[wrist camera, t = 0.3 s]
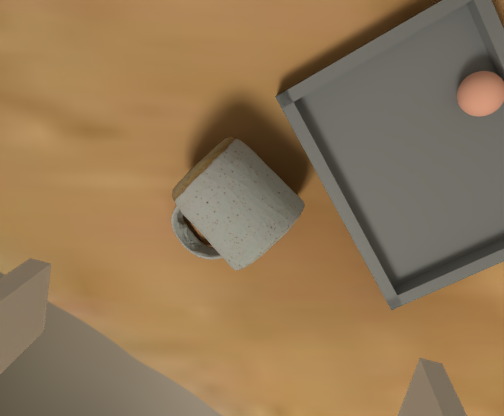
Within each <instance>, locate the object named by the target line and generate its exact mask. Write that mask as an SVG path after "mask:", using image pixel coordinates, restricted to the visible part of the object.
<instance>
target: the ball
mask: <svg viewBox="0 0 504 416" xmlns="http://www.w3.org/2000/svg"><path fill="white" fill-rule="evenodd" d="M457 101H458V104H459V106H460V108H461V109H462V110H463V111H464V112H465V113H467V114H469V115H472V116H477V117H480V116H486V115H489V114H492V113H493V112H495V111H496V110H498V109H499V108H500V106H501V105H502V104H503V102H504V81H503V80H502V79H501V77H499V76H498V75H497V74H495V73H493V72H489V71H479V72H475V73H473V74H470V75H469V76H467V77H466V78H465V79H464V80H463V81H462V82H461V84H460V86H459V88H458V91H457Z"/></svg>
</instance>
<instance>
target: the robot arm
mask: <svg viewBox="0 0 504 416" xmlns="http://www.w3.org/2000/svg"><path fill="white" fill-rule="evenodd" d="M50 269H51V264H50V263H46V262H43V261H39V260H35V259H31V258H30V259H29V260H27V261H26V262H24V263H23V264H21V265H20V266H18V267H17V268H15V269H14V270H12V271H11V272H9V273H8V274H6V275H5V276H3V277H2V278H0V374H1V373H2V372H3V371H4V370H5V369H6V368H7V367H8V366H9V365H10V364H11V363H12V362H13V361H14V360H15V359H16V358H17V357H18V356H19V355H20V354H21V353H22V352H23V351H24V350H25V349H26V348H27V347H28V346H29V345H30V344H31V343H32V342H33V341H34V340H35V339H36V338H37V337H38V336H40V335H41V334H42V333H43V331H44V326H45V315H46V307H47V297H48V288H49V279H50ZM398 416H467V415H466V413H465V411H464V408H463V406H462V404H461V402H460V400H459V398H458V396H457V394H456V392H455V390H454V388H453V386H452V383H451V381H450V379H449V377H448V375H447V373H446V371H445V369H444V367H443V365H442V363H438V362H434V361H430V360H426V359H422V358H420V359H419V361H418V364H417V366H416V369H415V372H414V374H413V377H412V380H411V382H410V385H409V388H408V390H407V393H406V396H405V398H404V401H403V403H402V406H401V409H400V411H399V414H398Z"/></svg>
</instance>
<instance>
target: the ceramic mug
mask: <svg viewBox="0 0 504 416" xmlns="http://www.w3.org/2000/svg"><path fill="white" fill-rule="evenodd" d="M172 197H173V200H174V201H175V203H176V205H177V206H176V207H175V209H174V211H173V214H172V217H171V222H172V227H173V231H174V233H175V235H176V236H177V238H178V240H179V241H180V242H181V243H182V245H183V246H184V247H185V248H186V249H187V250H188V251H190V252H191V253H193V254H194V255H196V256H198V257H200V258H204V259H220V258H224V259H225V261H226V262H227V263H228V264H229V265H230V266H231V267H232V268H233V269H235V270H240V269H243V268H245V267H246V266H248V265H250V264H251V263H253V262H254V261H256V260H257V259H258V258H259V257H261V256H262V255H263V254H264V253H265V252H266V251H267V250H269V249H270V248H271V247H272V246H273V245H274V244H275V243H276V242H277V241H278V240H279V239H280V238H281V237H283V236H284V235H285V234H286V233H287V231H288V230H289V229H290V228H291V227H292V225H293V224H294V222H295V221H296V220H297V219H298V218H299V216H300V215H301V213H302V211H303V208H304V202H303V201H302V199H301V198H300V197H299V196H298V195H297V194H296V193H294V192H293V191H292V190H291V189H290V188H289V187H288V186H287V185H286V184H285V183H284V181H283V180H282V179H281V178H280V177H279V176H278V175H277V174H276V173H275V172H274V171H273V170H271V169H270V168H269V167H268V166H267V165H266V164H265V163H264V162H263V161H262V160H261V158H260V157H259V156H258V155H257V154H256V153H255V152H254V151H253V150H252V149H251V148H250V147H248V146H247V145H246V144H244V143H243V142H242V141H240V140H239V139H237V138H235V137H227V138H225V139H224V140H223V141H221V142H220V143H219V144H218V145H217V146H216V147H215V148H213V149H212V150H211V151H210V152H209V153H208V154H207V155H206V156H205V157H204V158H203V159H202V160H201V161H200V162H199V163H198V164H196V165H195V166H194V167H193V168H192V169H191V170H190V171H189V172H188V173H187V174H186V175H185V177H184V178H183V179H182V180H181V181H180V182H179V183H178V184H177V185H176V186H175V188H174V189H173V193H172ZM183 215H184V216H185V217H186V218H187V219H188V220H189V221H190V222H191V223H192V224H193V225H194V226H195V227H196V228H197V229H198V230H199V231H200V232H201V234H202V235H203V236H204V237H205V238H206V239H207V240H208V242H209V243H210V244H211V245H212V246H213V247H214V248H213V247H210V246H207V245H205V244H204V243H202V242H201V241H199V240H198V238H197V237H196V236H195V235H194V234H193V232H192V231H191V230H190V229H189V227H188V225H187V224H186V223H185V222H184V219H183Z"/></svg>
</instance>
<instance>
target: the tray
mask: <svg viewBox="0 0 504 416" xmlns="http://www.w3.org/2000/svg"><path fill="white" fill-rule="evenodd" d="M479 71H489V72H493V73H495V74H497V75H498V76H499V77H501V79H502V80H503V81H504V28H503V26H502V23H501V21H500V19H499V16H498V14H497V12H496V9H495V7H494V4H493V2H492V0H441V1H439V2H437V3H435V4H434V5H432V6H430V7H428V8H427V9H425V10H423V11H422V12H420V13H418V14H416V15H415V16H413V17H411V18H409V19H408V20H406V21H404V22H403V23H401V24H399V25H397V26H396V27H394V28H392V29H390V30H389V31H387V32H385V33H384V34H382V35H380V36H378V37H377V38H375V39H373V40H371V41H370V42H368V43H366V44H365V45H363V46H361V47H359V48H358V49H356V50H354V51H352V52H351V53H349V54H347V55H346V56H344V57H342V58H340V59H339V60H337V61H335V62H333V63H332V64H330V65H328V66H327V67H325V68H323V69H321V70H320V71H318V72H316V73H314V74H313V75H311V76H309V77H308V78H306V79H304V80H302V81H301V82H299V83H297V84H295V85H294V86H292V87H290V88H289V89H287V90H285V91H283V92H282V93H280V94H278V95H277V96H276V99H277V101H278V103H279V104H280V106H281V108H282V110H283V112H284V114H285V115H286V117H287V119H288V121H289V123H290V125H291V127H292V128H293V130H294V132H295V134H296V136H297V138H298V139H299V141H300V143H301V145H302V147H303V149H304V150H305V152H306V154H307V156H308V158H309V160H310V161H311V163H312V165H313V167H314V169H315V171H316V172H317V174H318V176H319V178H320V180H321V182H322V183H323V185H324V187H325V189H326V191H327V193H328V195H329V196H330V198H331V200H332V202H333V204H334V206H335V207H336V209H337V211H338V213H339V215H340V217H341V218H342V220H343V222H344V224H345V226H346V228H347V229H348V231H349V233H350V235H351V237H352V239H353V240H354V242H355V244H356V246H357V248H358V250H359V252H360V253H361V255H362V257H363V259H364V261H365V263H366V264H367V266H368V268H369V270H370V272H371V274H372V275H373V277H374V279H375V281H376V283H377V285H378V286H379V288H380V290H381V292H382V294H383V296H384V297H385V299H386V301H387V303H388V305H389V307H390V308H391V310H393V309H395V308H397V307H400V306H402V305H404V304H407V303H409V302H411V301H413V300H416V299H418V298H420V297H423V296H425V295H427V294H430V293H432V292H434V291H436V290H439V289H441V288H443V287H446V286H448V285H450V284H453V283H455V282H457V281H459V280H462V279H464V278H466V277H469V276H471V275H473V274H475V273H478V272H480V271H482V270H485V269H487V268H489V267H492V266H494V265H496V264H498V263H501V262H503V261H504V102H503V104H502V105H501V106H500V108H499V109H498V110H496V111H495V112H493V113H492V114H489V115H486V116H480V117H477V116H472V115H469V114H467V113H465V112H464V111H463V110H462V109H461V108H460V106H459V104H458V101H457V91H458V88H459V86H460V84H461V82H462V81H463V80H464V79H465V78H466V77H467V76H469V75H470V74H473V73H475V72H479Z"/></svg>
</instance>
